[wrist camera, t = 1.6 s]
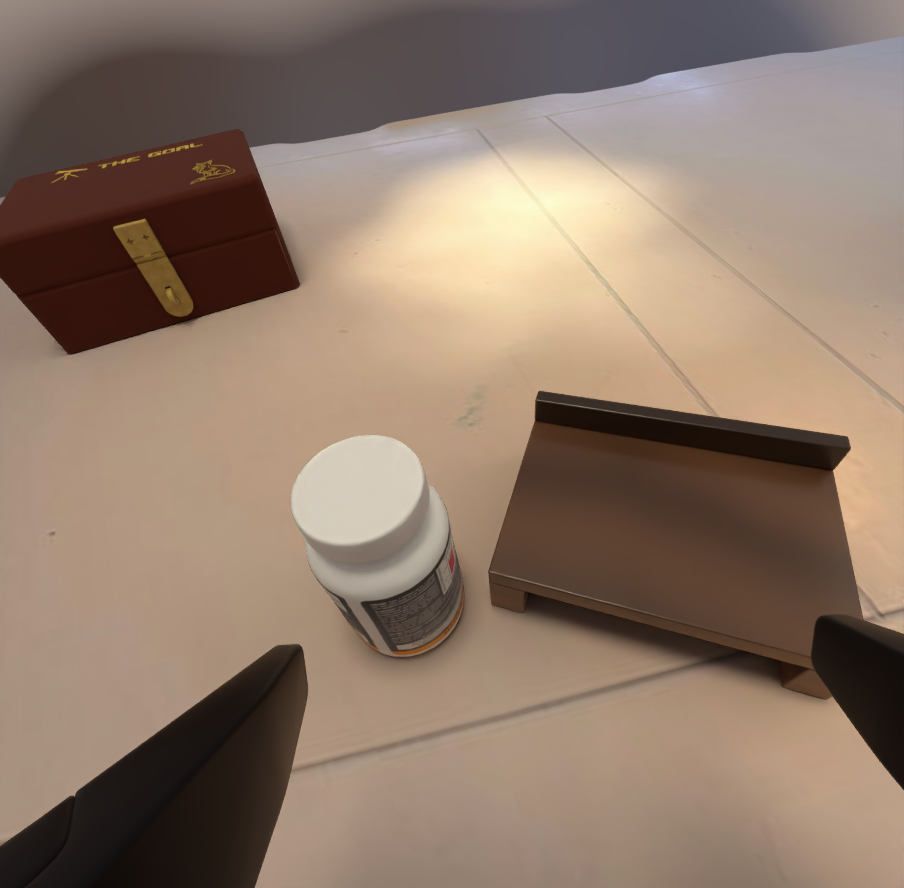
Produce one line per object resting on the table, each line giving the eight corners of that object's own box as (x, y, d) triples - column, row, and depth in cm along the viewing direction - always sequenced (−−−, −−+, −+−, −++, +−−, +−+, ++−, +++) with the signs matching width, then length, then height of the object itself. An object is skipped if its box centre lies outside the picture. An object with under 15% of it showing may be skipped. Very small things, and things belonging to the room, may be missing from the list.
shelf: (826, 700, 19) (903, 660, 15) (491, 604, 23) (485, 554, 19) (798, 500, 25) (848, 435, 21) (535, 451, 29) (538, 389, 25)
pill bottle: (469, 551, 25) (448, 421, 18) (459, 666, 21) (429, 563, 14) (365, 547, 26) (304, 422, 19) (338, 657, 22) (249, 556, 15)
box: (64, 364, 41) (-38, 253, 33) (86, 277, 51) (12, 177, 44) (303, 293, 44) (260, 178, 37) (278, 226, 55) (240, 125, 47)
